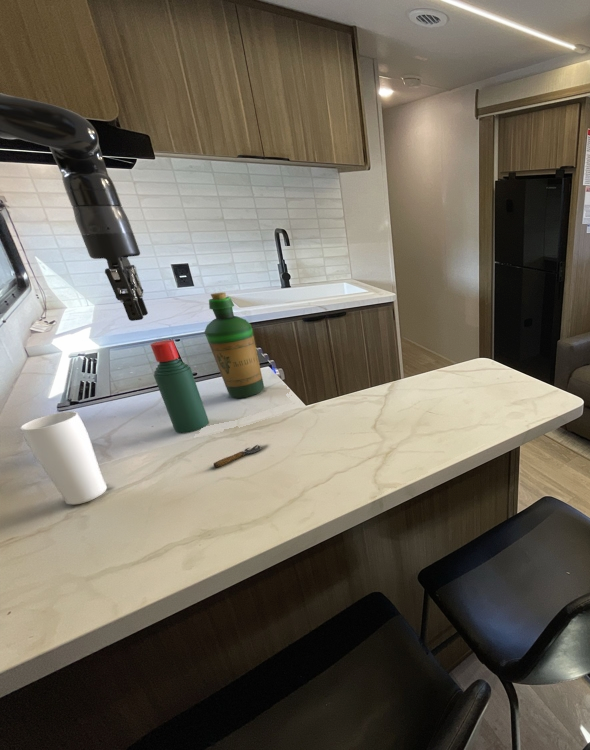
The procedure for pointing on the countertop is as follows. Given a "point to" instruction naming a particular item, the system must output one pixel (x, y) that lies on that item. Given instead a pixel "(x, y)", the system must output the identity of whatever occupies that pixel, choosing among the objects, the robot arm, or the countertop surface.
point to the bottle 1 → (181, 396)
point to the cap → (164, 350)
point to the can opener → (236, 456)
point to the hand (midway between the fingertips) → (139, 317)
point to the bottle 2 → (234, 349)
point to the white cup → (66, 455)
